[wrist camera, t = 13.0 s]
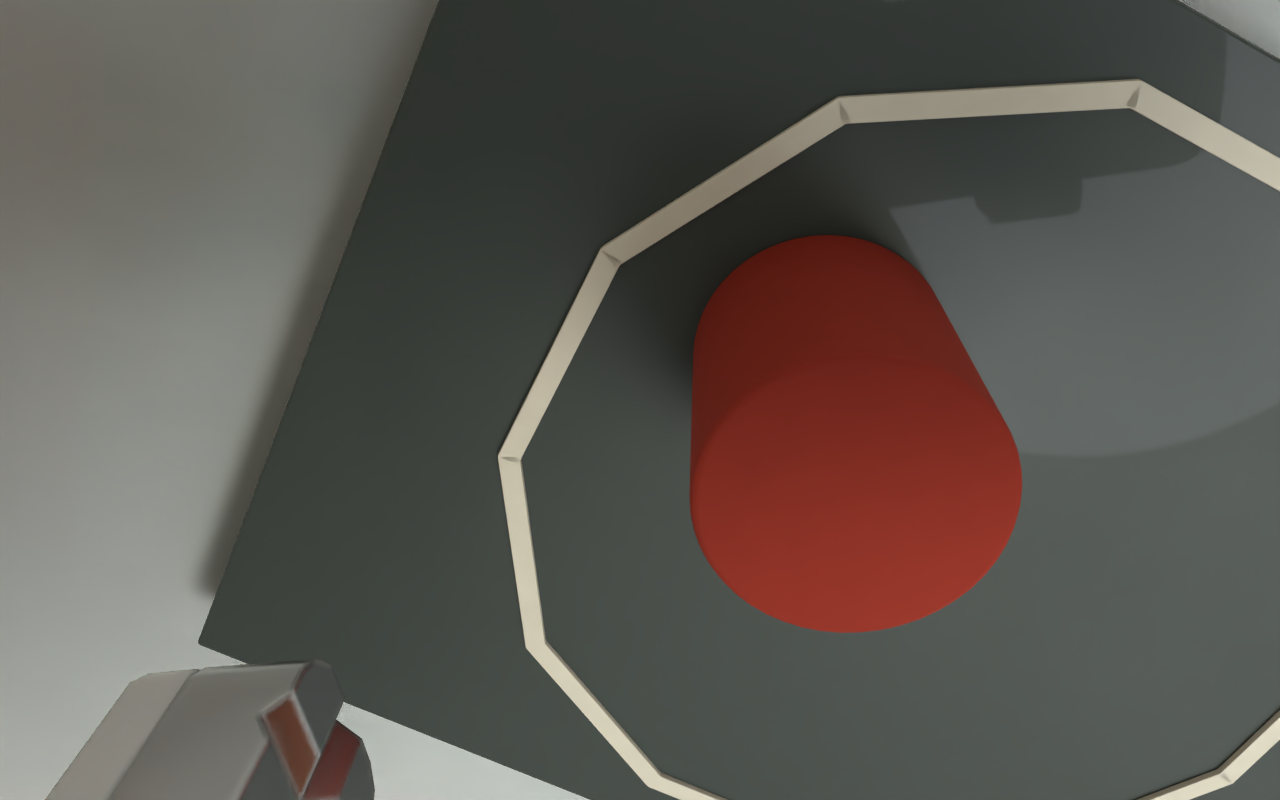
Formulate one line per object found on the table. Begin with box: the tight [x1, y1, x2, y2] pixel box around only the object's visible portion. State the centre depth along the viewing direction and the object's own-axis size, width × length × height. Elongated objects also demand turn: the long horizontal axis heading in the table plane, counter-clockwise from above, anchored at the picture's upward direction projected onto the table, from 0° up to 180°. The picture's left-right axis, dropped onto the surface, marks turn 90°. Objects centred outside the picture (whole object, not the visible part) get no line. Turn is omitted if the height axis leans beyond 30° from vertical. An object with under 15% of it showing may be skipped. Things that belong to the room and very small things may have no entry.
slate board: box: [198, 0, 1280, 800], centre depth 15 cm, size 14×18×1 cm
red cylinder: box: [689, 235, 1022, 633], centre depth 12 cm, size 3×3×4 cm
